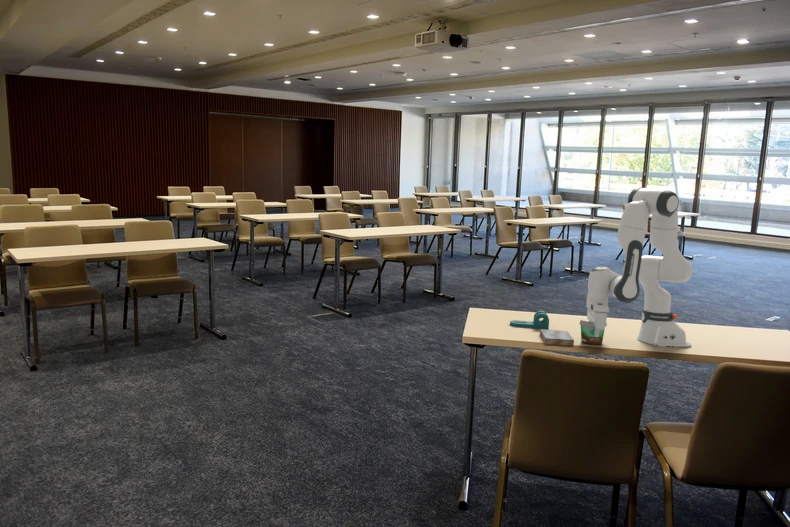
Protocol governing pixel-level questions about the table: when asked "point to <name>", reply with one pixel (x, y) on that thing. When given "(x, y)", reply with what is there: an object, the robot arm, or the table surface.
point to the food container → (590, 333)
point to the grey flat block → (556, 337)
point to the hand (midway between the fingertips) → (594, 334)
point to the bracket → (535, 324)
